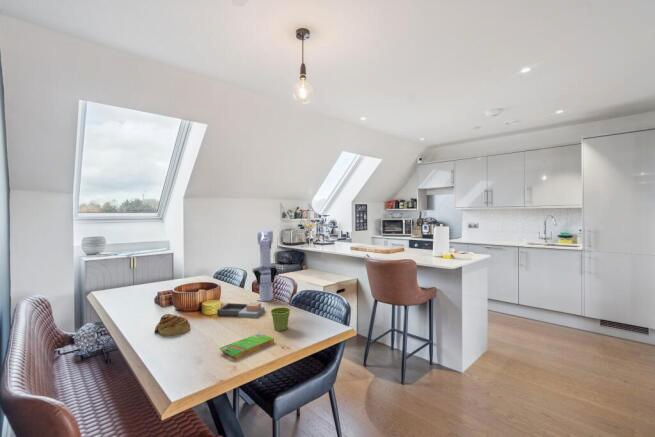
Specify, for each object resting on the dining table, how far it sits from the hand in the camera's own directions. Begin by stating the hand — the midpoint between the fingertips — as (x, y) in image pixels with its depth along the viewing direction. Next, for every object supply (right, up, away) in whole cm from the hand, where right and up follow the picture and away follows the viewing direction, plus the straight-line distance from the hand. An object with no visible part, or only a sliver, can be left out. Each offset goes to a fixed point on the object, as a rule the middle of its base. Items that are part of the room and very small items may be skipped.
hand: (265, 283), depth 171 cm
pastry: (-38, -17, -24) cm, 48 cm away
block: (-7, -14, +1) cm, 16 cm away
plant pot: (+11, -17, -22) cm, 30 cm away
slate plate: (-7, -16, 0) cm, 18 cm away
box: (-18, -16, +2) cm, 24 cm away
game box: (+1, -18, -42) cm, 46 cm away
